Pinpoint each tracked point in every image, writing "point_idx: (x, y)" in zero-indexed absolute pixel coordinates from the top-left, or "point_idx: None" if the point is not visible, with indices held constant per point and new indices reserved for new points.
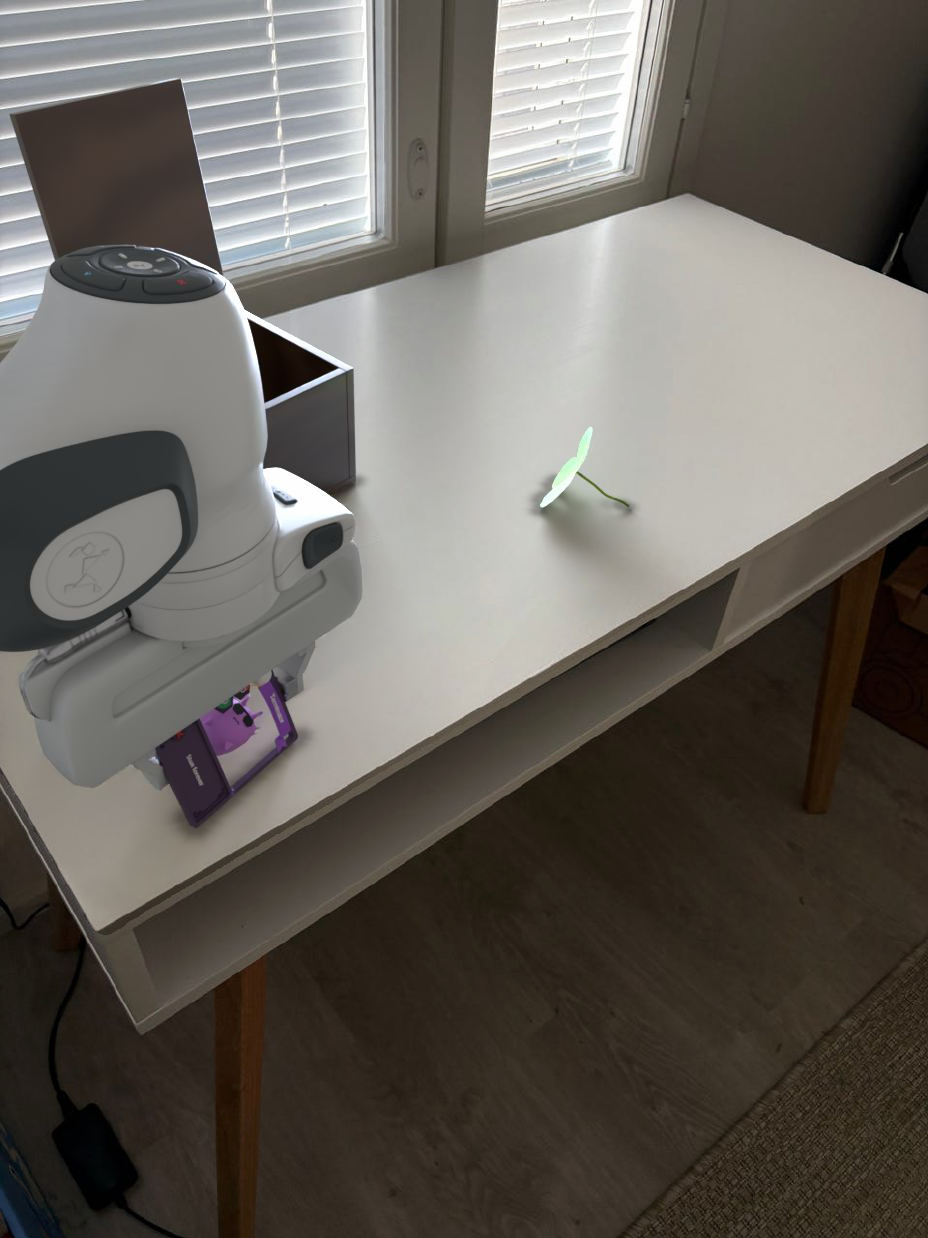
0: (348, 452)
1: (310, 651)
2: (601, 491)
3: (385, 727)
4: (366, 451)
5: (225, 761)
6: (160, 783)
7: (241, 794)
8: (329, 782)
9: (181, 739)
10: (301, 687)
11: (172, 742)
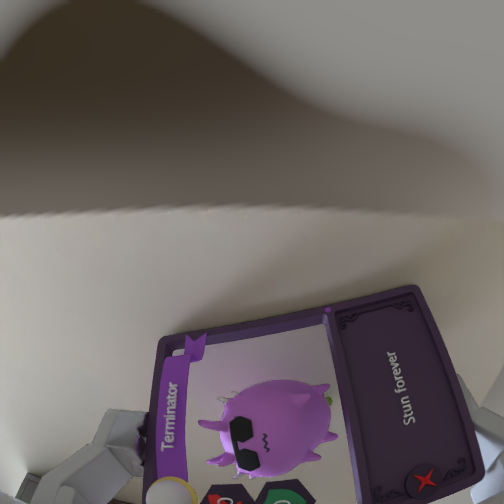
0: (20, 497)
1: (53, 478)
2: None
3: (34, 265)
4: (19, 476)
5: (289, 366)
6: (463, 386)
7: (311, 301)
8: (156, 225)
9: (421, 465)
10: (107, 417)
11: (437, 463)
